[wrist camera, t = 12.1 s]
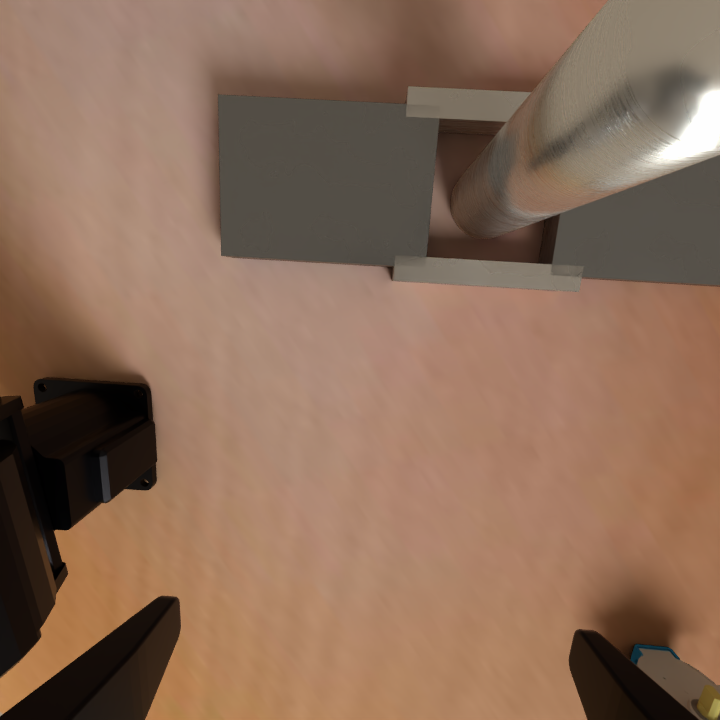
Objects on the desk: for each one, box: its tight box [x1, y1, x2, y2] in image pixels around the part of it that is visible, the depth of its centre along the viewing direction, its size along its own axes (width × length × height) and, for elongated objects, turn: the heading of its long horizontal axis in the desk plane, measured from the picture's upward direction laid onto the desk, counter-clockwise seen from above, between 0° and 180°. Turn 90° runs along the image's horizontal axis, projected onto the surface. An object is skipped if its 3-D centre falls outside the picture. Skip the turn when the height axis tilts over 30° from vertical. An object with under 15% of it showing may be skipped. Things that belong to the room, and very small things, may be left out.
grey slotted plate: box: [218, 86, 720, 292], centre depth 18 cm, size 26×8×2 cm, turn 87°
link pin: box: [451, 0, 720, 239], centre depth 12 cm, size 4×4×13 cm
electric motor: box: [630, 644, 720, 720], centre depth 21 cm, size 7×5×5 cm
